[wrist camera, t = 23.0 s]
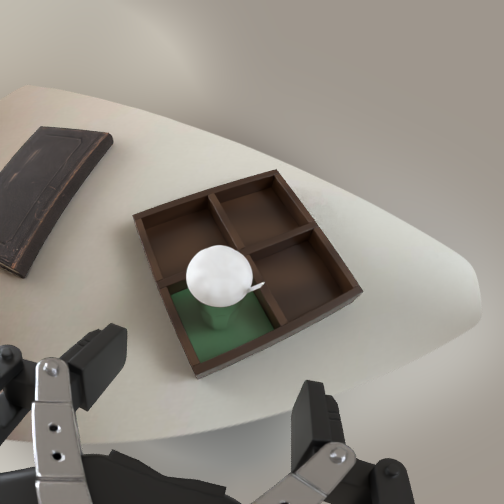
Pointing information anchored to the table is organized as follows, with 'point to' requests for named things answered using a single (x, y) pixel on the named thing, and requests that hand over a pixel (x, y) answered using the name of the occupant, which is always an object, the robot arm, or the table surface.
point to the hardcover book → (42, 188)
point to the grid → (259, 257)
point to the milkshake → (219, 284)
